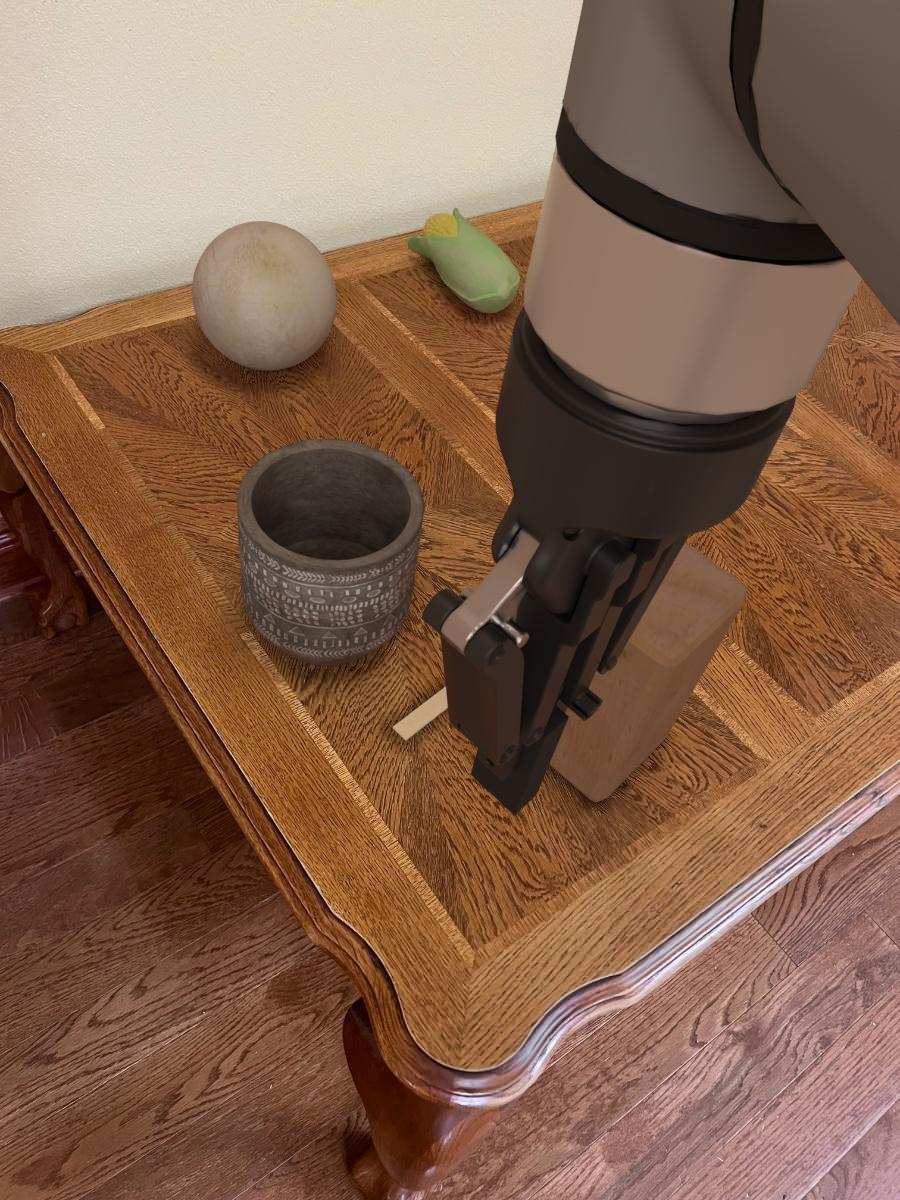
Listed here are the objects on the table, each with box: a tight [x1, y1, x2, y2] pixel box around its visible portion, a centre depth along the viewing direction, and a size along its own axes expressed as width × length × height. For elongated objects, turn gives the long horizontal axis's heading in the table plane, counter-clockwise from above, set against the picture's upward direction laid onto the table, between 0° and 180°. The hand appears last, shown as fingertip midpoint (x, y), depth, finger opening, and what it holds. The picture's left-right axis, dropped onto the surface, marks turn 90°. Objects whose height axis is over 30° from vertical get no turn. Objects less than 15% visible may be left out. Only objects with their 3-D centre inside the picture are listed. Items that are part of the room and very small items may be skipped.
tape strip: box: [392, 685, 448, 741], centre depth 79 cm, size 12×2×1 cm, turn 135°
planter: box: [236, 438, 425, 667], centre depth 77 cm, size 14×14×15 cm
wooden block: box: [549, 541, 748, 803], centre depth 71 cm, size 10×10×20 cm
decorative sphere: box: [191, 220, 338, 372], centre depth 99 cm, size 15×15×15 cm
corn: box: [407, 207, 521, 314], centre depth 117 cm, size 8×8×20 cm
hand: (503, 784), depth 42 cm, fingers closed
